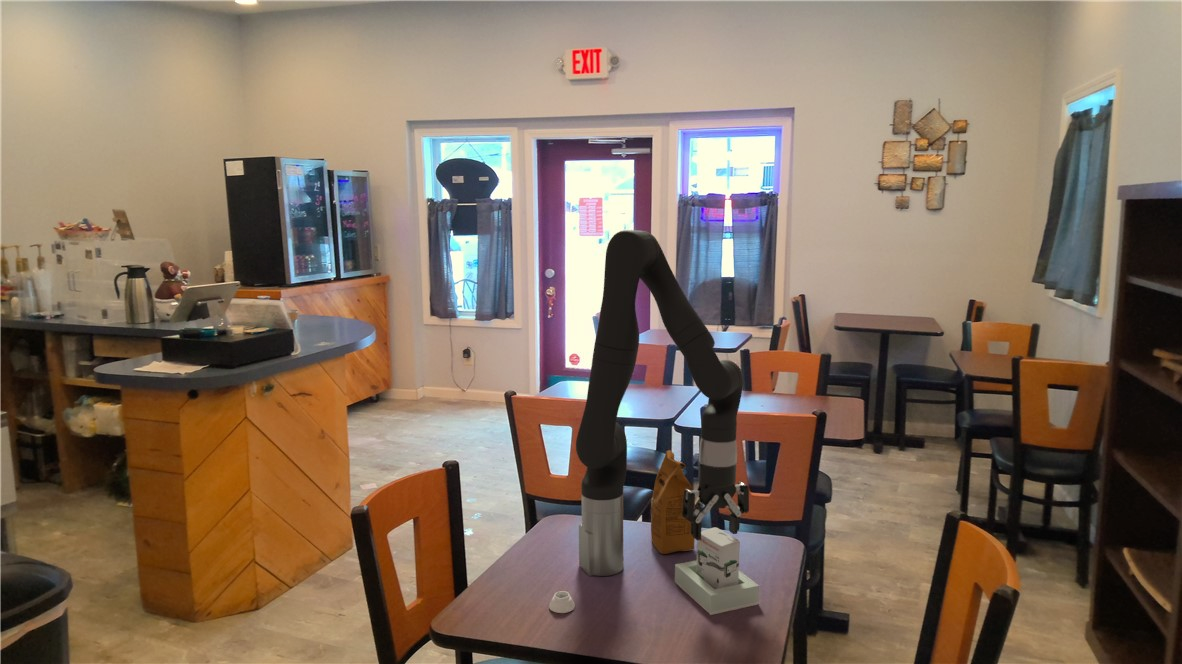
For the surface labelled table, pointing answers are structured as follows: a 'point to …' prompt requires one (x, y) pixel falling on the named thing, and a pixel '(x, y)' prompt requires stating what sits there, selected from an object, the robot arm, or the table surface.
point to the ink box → (718, 558)
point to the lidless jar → (561, 602)
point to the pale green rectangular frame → (716, 590)
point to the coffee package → (670, 508)
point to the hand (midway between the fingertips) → (715, 535)
